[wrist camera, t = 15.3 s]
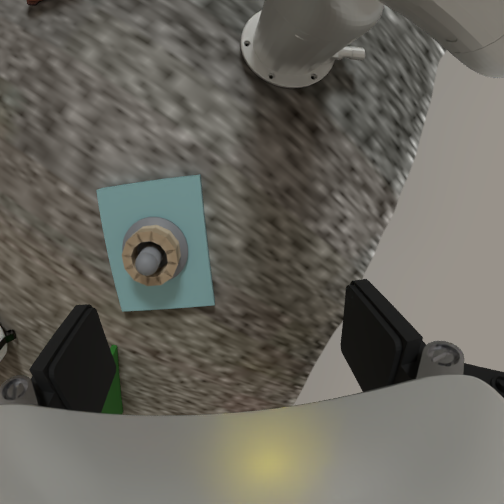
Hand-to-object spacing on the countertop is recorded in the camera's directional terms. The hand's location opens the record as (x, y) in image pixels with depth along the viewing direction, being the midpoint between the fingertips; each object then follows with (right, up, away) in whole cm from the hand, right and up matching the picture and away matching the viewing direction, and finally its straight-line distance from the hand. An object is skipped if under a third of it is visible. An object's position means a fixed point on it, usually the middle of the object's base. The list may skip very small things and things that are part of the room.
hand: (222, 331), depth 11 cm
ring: (-12, +3, +28) cm, 30 cm away
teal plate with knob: (-12, +4, +30) cm, 32 cm away
